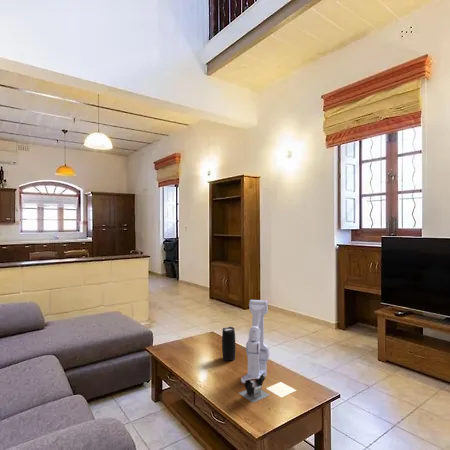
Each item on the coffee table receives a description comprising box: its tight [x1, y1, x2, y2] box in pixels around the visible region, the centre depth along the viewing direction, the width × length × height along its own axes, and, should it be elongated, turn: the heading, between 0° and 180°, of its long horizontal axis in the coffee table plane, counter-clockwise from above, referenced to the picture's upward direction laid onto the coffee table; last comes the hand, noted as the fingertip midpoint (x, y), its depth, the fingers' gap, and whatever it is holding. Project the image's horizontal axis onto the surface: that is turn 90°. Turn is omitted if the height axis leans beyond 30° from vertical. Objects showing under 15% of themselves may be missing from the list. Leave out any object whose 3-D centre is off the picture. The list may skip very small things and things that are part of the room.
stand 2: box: [265, 381, 297, 398], centre depth 162 cm, size 11×11×2 cm
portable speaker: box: [221, 326, 237, 362], centre depth 203 cm, size 9×9×20 cm
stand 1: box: [238, 389, 270, 403], centre depth 157 cm, size 11×11×2 cm
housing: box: [246, 380, 262, 398], centre depth 157 cm, size 6×4×5 cm
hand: (253, 392), depth 157 cm, fingers open, 6 cm apart
